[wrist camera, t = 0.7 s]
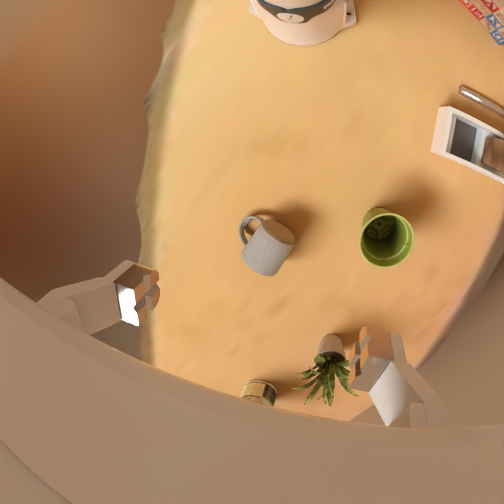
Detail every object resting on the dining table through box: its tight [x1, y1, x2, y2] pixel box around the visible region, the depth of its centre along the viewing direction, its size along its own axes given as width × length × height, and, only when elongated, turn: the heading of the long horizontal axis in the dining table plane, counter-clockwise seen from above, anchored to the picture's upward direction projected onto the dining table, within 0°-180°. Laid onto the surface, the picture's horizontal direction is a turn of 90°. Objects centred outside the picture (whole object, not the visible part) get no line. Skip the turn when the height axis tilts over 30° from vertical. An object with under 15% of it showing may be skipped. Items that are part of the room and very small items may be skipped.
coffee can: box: [240, 380, 277, 407], centre depth 70 cm, size 10×10×14 cm
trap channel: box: [431, 106, 504, 184], centre depth 34 cm, size 9×24×5 cm, turn 82°
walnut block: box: [481, 137, 504, 173], centre depth 31 cm, size 5×5×6 cm
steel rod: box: [459, 85, 504, 118], centre depth 31 cm, size 14×2×2 cm, turn 82°
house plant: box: [289, 335, 357, 406], centre depth 55 cm, size 14×14×16 cm
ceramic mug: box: [239, 216, 296, 276], centre depth 52 cm, size 11×8×8 cm
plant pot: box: [359, 208, 415, 268], centre depth 44 cm, size 9×9×9 cm
